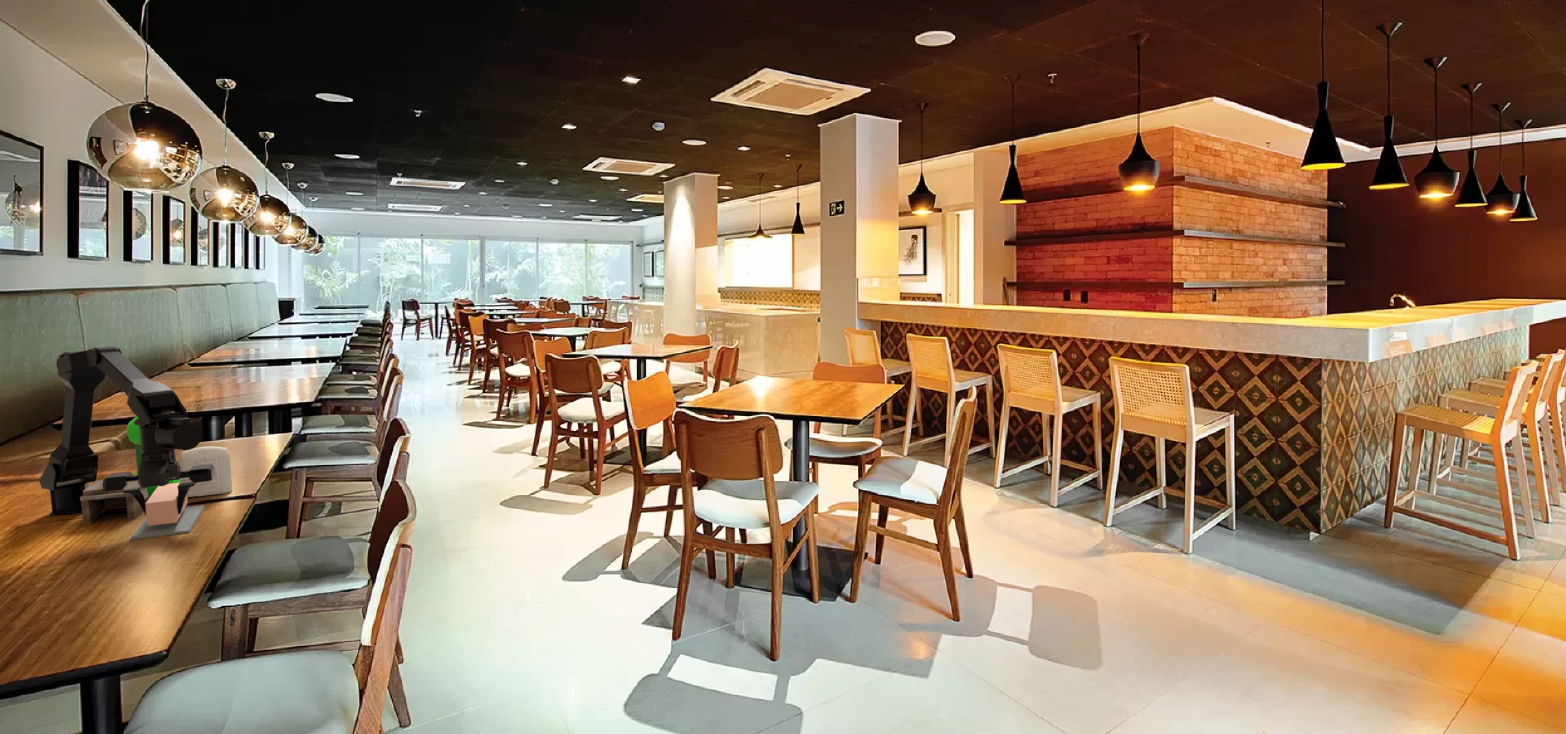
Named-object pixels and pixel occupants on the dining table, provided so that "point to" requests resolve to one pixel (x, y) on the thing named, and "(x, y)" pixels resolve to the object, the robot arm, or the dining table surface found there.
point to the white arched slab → (221, 464)
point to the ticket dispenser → (106, 502)
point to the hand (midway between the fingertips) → (164, 515)
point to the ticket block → (163, 505)
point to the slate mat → (170, 524)
